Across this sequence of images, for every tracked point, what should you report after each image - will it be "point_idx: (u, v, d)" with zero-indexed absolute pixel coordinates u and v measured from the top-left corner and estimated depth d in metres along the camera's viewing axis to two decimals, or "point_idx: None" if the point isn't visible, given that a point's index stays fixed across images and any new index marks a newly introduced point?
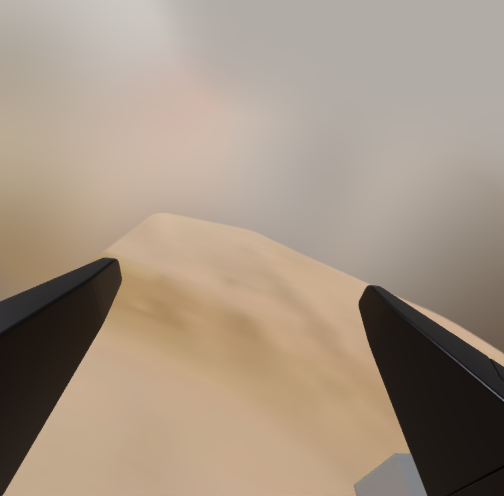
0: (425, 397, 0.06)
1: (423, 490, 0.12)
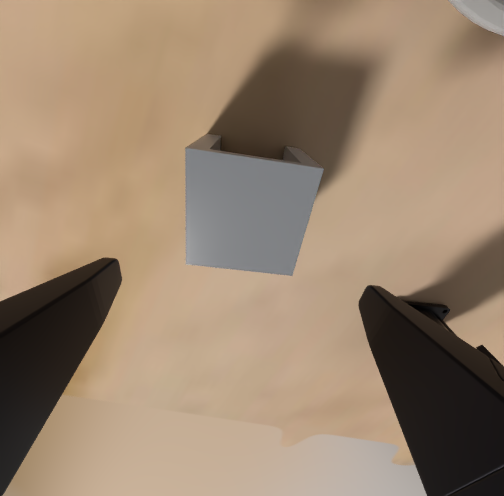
0: (425, 397, 0.06)
1: (210, 257, 0.14)
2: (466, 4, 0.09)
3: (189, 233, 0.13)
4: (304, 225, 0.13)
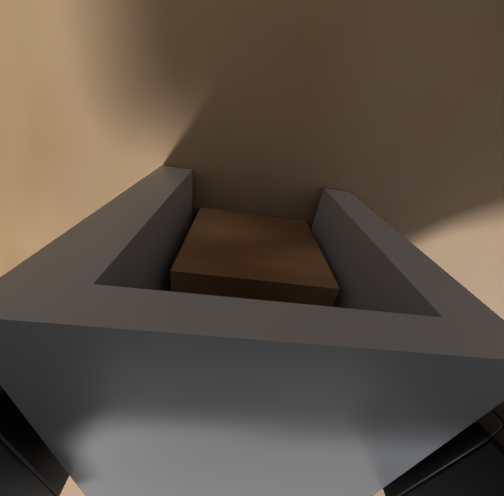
0: None
1: None
2: None
3: (81, 473, 0.05)
4: (414, 460, 0.04)
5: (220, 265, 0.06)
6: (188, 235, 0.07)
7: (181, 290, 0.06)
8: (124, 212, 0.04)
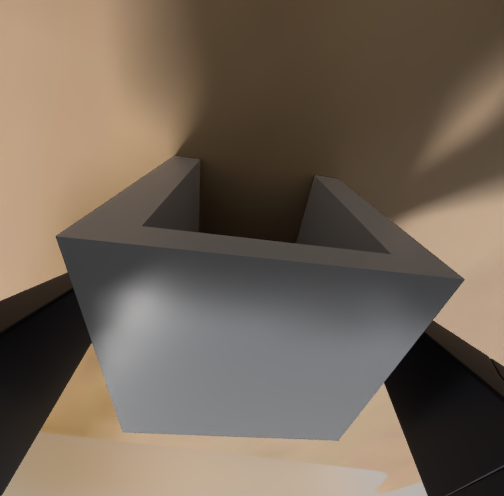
0: (426, 397, 0.06)
1: (172, 423, 0.07)
2: None
3: (118, 393, 0.06)
4: (380, 379, 0.06)
5: None
6: None
7: None
8: (151, 187, 0.06)
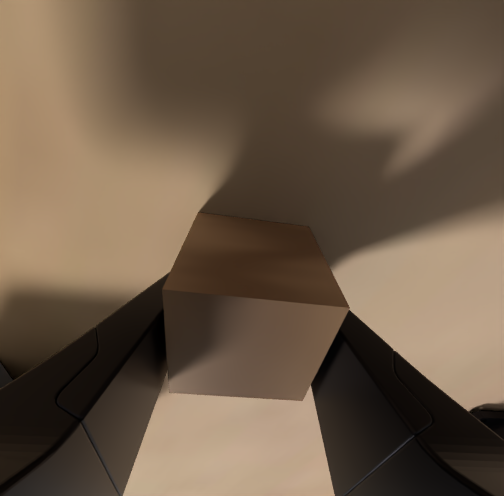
0: (334, 391, 0.06)
1: None
2: None
3: None
4: None
5: (217, 282, 0.05)
6: (183, 246, 0.06)
7: (175, 310, 0.05)
8: None
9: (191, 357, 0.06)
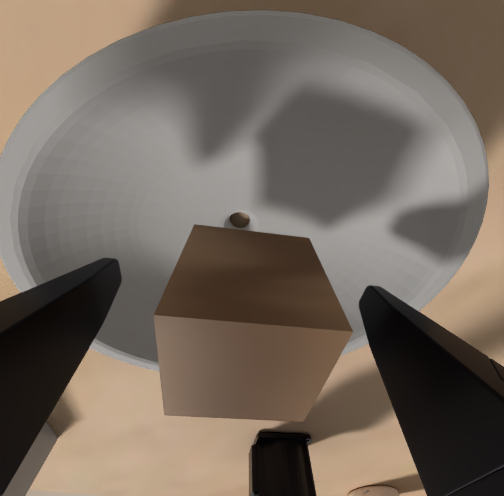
0: (425, 397, 0.06)
1: None
2: (147, 367, 0.12)
3: None
4: None
5: (212, 305, 0.05)
6: (178, 264, 0.06)
7: (167, 335, 0.05)
8: None
9: (186, 381, 0.06)
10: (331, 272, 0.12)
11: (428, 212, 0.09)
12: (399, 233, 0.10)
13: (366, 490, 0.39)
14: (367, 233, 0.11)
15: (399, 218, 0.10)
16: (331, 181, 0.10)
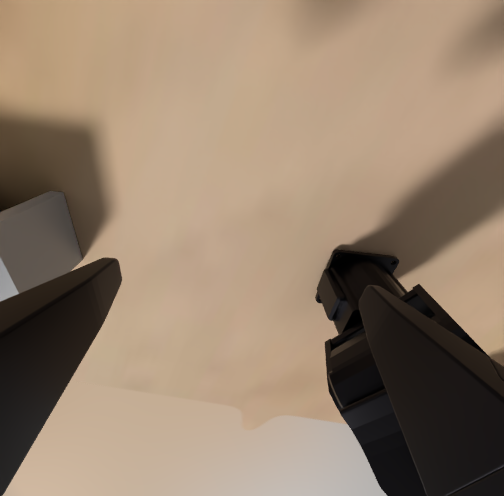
0: (425, 397, 0.06)
1: None
2: None
3: None
4: (5, 271, 0.15)
5: None
6: None
7: None
8: None
9: None
10: None
11: None
12: None
13: None
14: None
15: None
16: None
